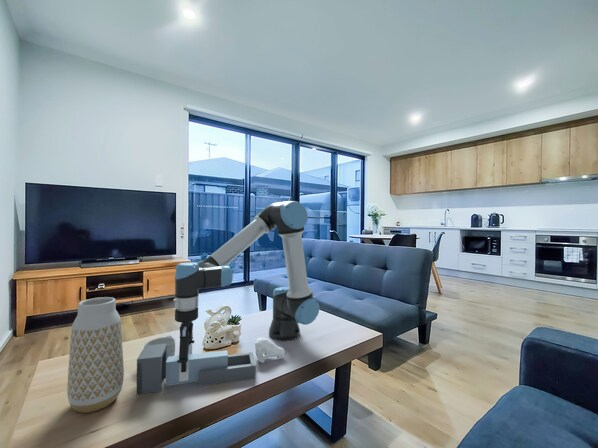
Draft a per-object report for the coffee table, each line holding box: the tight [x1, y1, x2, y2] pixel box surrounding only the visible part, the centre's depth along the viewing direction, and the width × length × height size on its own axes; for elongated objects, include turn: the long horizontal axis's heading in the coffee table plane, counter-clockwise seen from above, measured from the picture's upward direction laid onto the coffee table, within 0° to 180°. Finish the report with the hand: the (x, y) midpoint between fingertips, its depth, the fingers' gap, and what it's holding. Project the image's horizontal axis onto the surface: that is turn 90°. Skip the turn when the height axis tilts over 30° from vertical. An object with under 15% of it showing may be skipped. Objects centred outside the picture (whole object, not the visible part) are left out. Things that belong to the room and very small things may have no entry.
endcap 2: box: [198, 351, 257, 387], centre depth 100 cm, size 19×10×4 cm, turn 106°
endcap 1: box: [136, 343, 167, 395], centre depth 93 cm, size 7×10×11 cm
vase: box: [66, 296, 125, 414], centre depth 83 cm, size 14×14×31 cm
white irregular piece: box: [254, 337, 285, 364], centre depth 111 cm, size 6×8×12 cm
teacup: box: [143, 334, 176, 358], centre depth 109 cm, size 14×11×8 cm
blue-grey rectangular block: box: [165, 349, 229, 386], centre depth 97 cm, size 20×4×8 cm, turn 106°
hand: (186, 370), depth 96 cm, fingers open, 11 cm apart
